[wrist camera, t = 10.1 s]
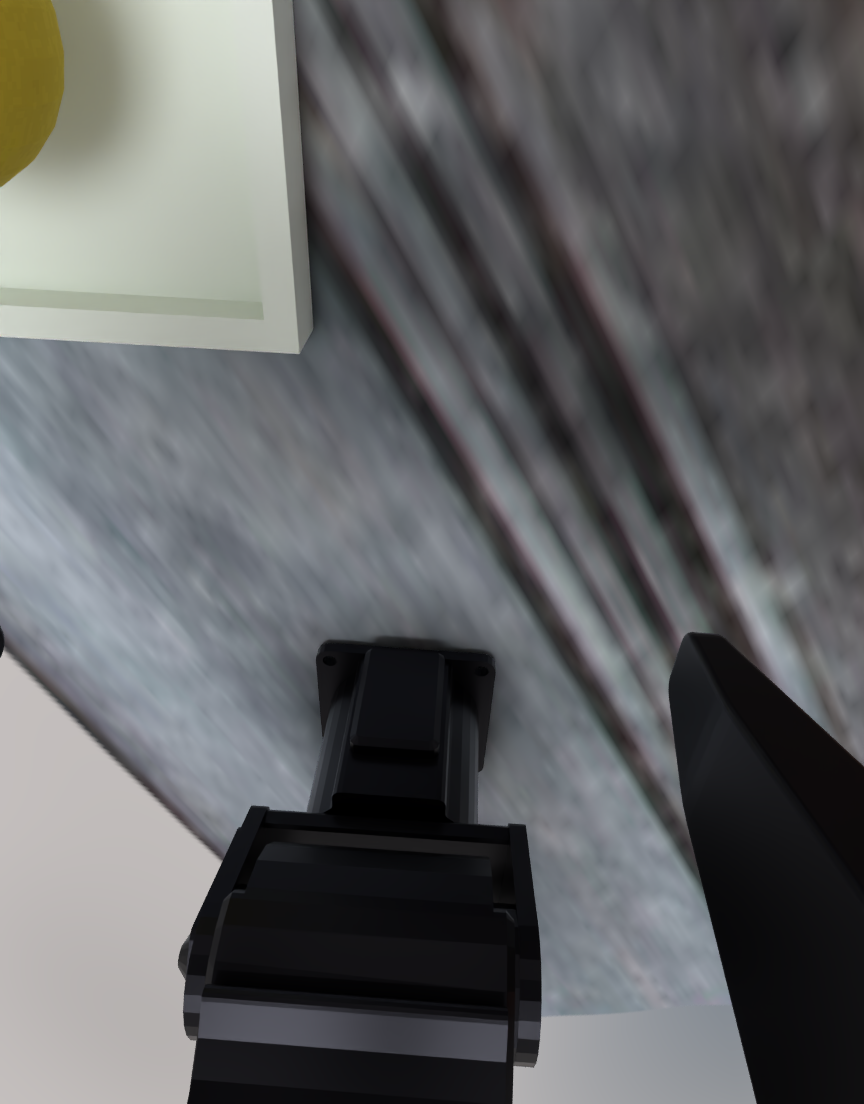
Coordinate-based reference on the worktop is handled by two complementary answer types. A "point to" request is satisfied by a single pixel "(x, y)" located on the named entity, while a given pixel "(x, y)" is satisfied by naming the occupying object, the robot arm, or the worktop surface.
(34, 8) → the lemon
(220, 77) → the tray
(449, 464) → the worktop surface
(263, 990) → the robot arm
